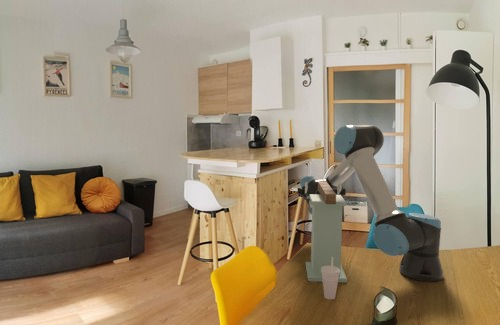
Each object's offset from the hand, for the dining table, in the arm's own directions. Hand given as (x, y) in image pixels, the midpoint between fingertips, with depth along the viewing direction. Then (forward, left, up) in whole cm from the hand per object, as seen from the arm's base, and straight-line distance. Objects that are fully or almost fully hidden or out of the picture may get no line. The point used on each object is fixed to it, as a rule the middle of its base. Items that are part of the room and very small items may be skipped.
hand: (323, 185), depth 139 cm
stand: (-8, +6, -33) cm, 34 cm away
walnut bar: (-6, +4, -3) cm, 8 cm away
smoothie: (-22, +17, -33) cm, 43 cm away
